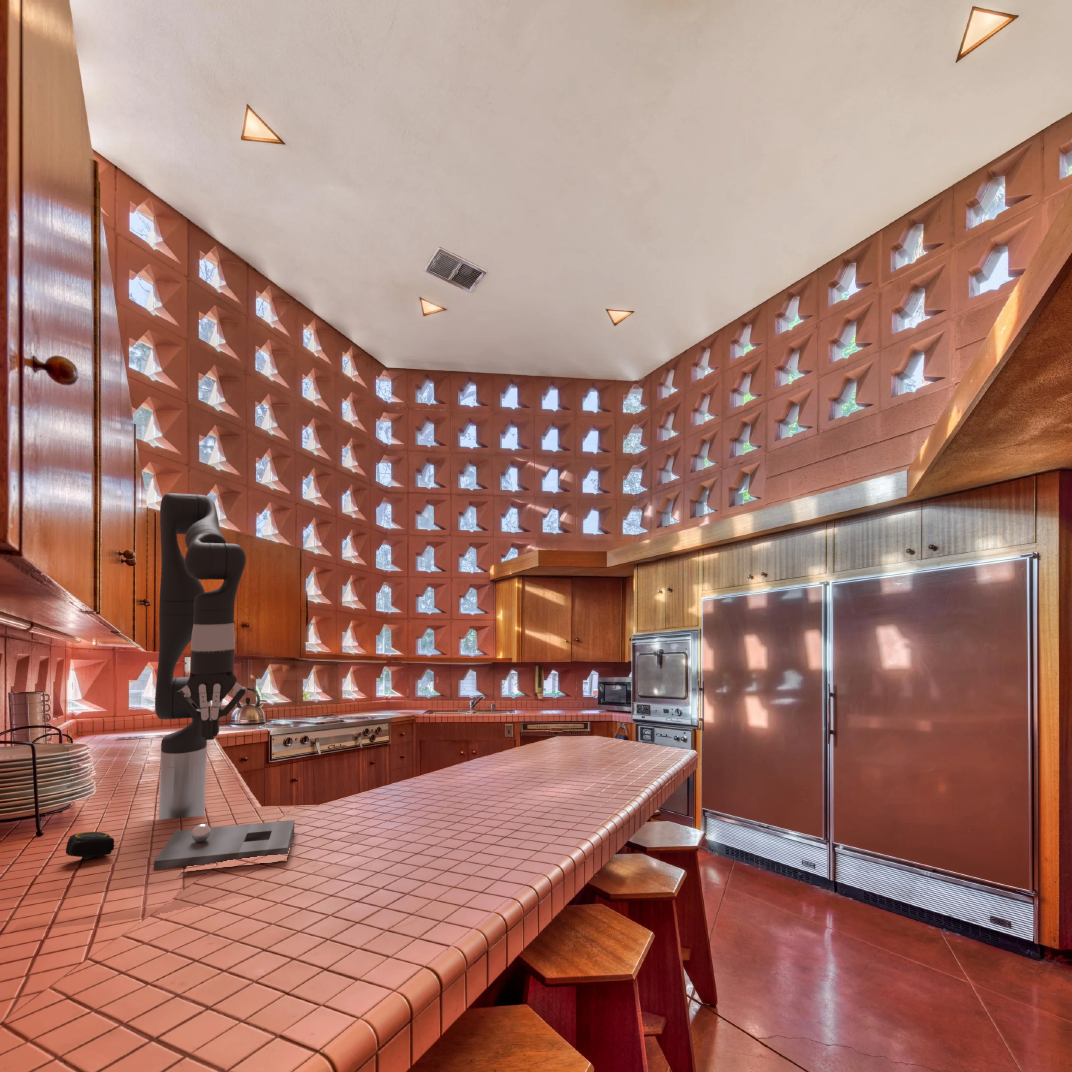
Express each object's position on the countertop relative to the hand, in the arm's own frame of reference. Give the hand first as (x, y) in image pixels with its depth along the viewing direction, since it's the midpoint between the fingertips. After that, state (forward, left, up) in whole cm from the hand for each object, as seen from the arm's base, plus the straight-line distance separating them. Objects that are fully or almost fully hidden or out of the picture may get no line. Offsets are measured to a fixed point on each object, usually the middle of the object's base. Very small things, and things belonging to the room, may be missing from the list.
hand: (210, 738), depth 124 cm
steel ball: (0, -1, -17) cm, 17 cm away
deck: (+1, +4, -22) cm, 22 cm away
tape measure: (-8, -19, -21) cm, 30 cm away
